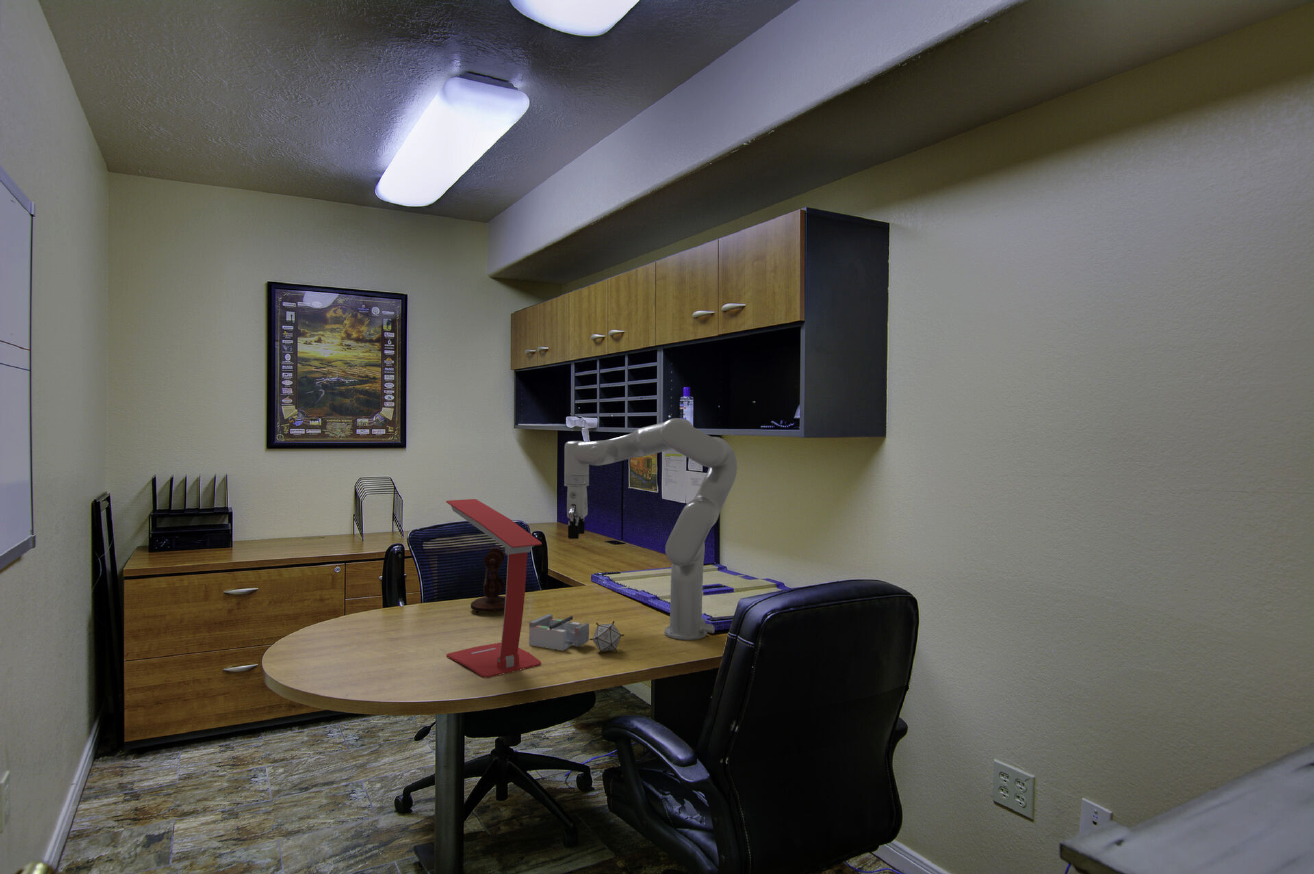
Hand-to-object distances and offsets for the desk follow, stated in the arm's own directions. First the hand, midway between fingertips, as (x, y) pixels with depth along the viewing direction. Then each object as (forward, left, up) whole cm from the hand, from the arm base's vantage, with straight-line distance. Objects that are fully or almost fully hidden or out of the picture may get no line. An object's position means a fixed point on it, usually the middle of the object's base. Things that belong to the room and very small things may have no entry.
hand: (576, 536), depth 219 cm
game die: (-21, +19, -28) cm, 39 cm away
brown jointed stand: (+32, -1, -28) cm, 42 cm away
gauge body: (-4, +19, -27) cm, 33 cm away
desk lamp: (+5, +37, -28) cm, 46 cm away
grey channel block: (-10, +19, -26) cm, 34 cm away
